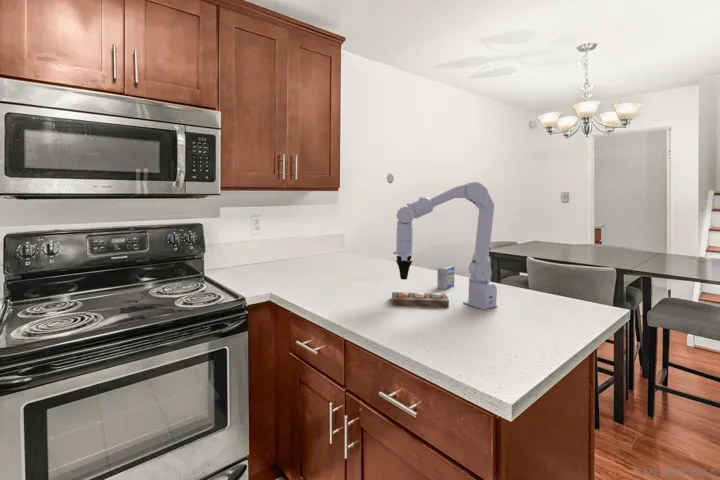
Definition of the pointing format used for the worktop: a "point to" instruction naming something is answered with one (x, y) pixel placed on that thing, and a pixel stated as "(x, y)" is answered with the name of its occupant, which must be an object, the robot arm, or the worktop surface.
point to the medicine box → (445, 277)
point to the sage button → (435, 295)
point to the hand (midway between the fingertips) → (403, 277)
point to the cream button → (418, 295)
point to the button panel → (420, 300)
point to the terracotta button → (403, 294)
